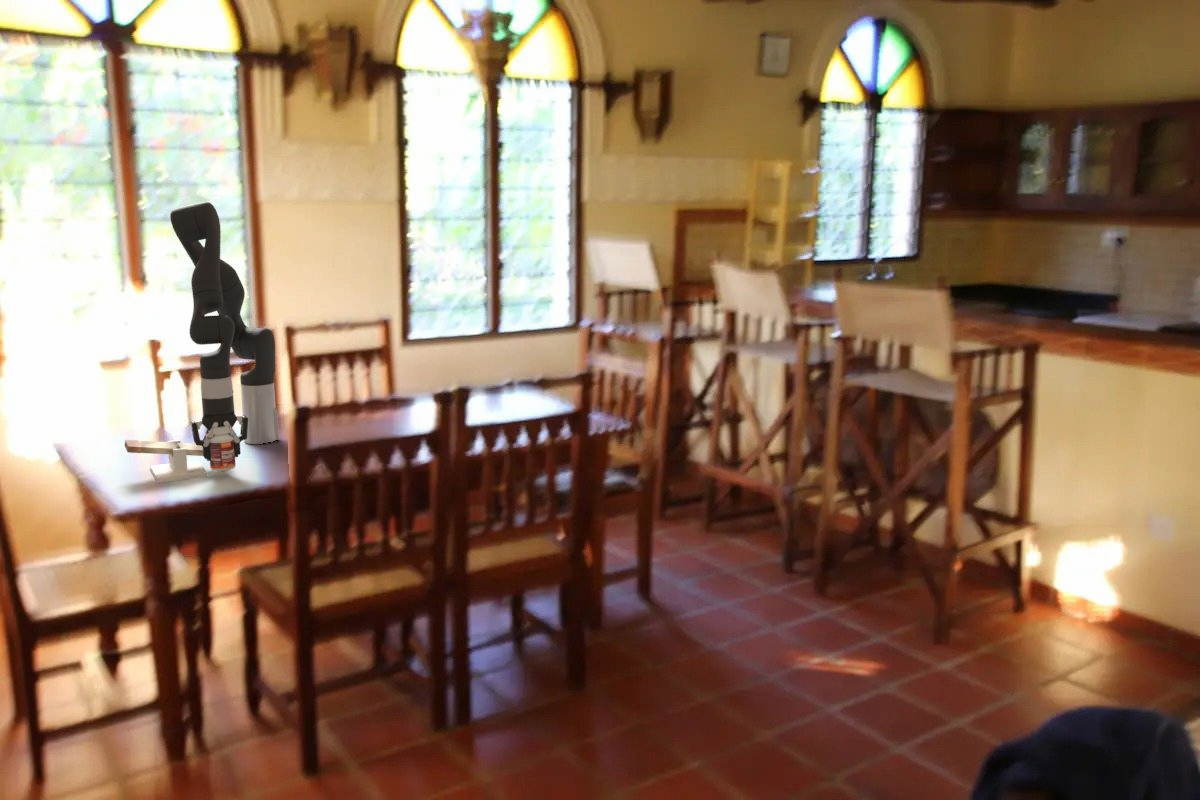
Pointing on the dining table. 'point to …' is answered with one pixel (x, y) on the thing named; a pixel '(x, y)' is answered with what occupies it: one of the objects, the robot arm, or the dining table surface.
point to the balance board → (161, 447)
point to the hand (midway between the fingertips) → (222, 458)
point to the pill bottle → (222, 450)
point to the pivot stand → (178, 467)
